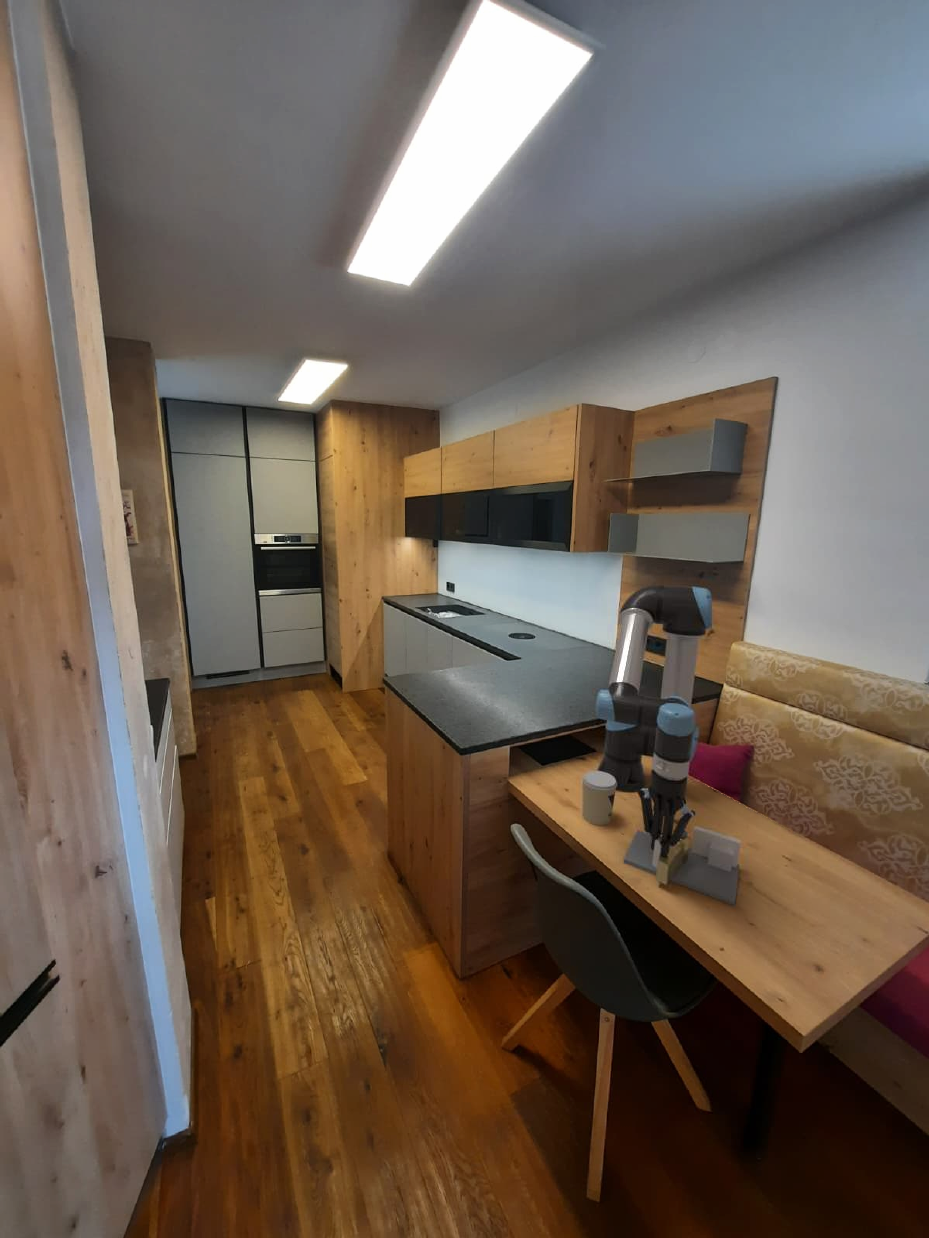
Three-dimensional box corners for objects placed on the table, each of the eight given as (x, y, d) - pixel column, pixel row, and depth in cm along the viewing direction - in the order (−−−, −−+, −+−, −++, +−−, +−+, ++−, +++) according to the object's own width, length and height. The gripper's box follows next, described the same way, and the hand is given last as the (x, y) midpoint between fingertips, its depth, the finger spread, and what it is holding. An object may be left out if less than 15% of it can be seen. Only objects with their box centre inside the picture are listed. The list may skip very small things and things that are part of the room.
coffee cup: (615, 829, 131) (618, 789, 128) (580, 824, 132) (583, 784, 130) (611, 809, 140) (615, 772, 137) (579, 805, 141) (581, 768, 139)
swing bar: (675, 850, 120) (677, 830, 119) (690, 856, 118) (692, 837, 117) (653, 877, 110) (655, 856, 109) (668, 886, 108) (671, 864, 107)
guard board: (637, 833, 129) (640, 804, 128) (738, 868, 116) (743, 837, 115) (623, 862, 118) (626, 831, 116) (734, 905, 105) (739, 871, 103)
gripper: (634, 765, 110) (624, 855, 115) (689, 790, 100) (676, 887, 105) (652, 756, 115) (641, 843, 120) (706, 779, 105) (692, 873, 110)
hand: (657, 864), depth 112 cm, fingers closed
